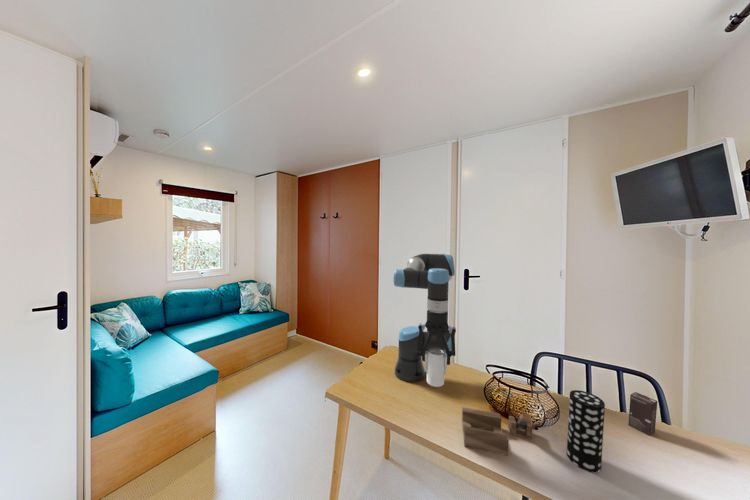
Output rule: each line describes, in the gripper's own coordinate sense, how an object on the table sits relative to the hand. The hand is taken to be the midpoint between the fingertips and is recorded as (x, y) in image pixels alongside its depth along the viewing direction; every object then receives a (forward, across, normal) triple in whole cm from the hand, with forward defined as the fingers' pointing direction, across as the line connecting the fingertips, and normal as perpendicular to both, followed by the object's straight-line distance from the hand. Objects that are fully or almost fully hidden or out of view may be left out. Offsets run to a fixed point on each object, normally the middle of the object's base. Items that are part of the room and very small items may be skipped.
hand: (435, 370), depth 95 cm
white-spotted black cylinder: (+19, +46, -4) cm, 50 cm away
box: (+19, +74, +18) cm, 78 cm away
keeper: (+13, +30, -1) cm, 33 cm away
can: (+5, 0, 0) cm, 5 cm away
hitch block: (+19, +22, -3) cm, 29 cm away
